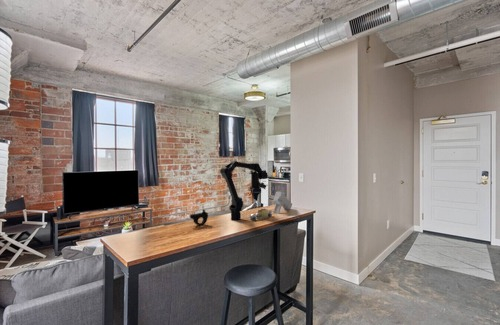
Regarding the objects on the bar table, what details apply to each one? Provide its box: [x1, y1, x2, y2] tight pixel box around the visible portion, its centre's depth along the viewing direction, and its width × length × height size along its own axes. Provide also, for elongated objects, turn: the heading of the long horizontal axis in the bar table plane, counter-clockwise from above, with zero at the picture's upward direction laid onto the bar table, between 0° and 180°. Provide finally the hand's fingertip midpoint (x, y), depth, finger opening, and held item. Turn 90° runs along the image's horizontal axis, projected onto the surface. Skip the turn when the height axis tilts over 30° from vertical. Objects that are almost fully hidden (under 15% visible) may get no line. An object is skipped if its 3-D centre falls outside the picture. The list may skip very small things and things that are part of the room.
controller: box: [189, 209, 209, 226], centre depth 164 cm, size 4×12×10 cm, turn 122°
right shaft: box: [268, 209, 273, 218], centre depth 186 cm, size 6×4×5 cm, turn 145°
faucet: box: [272, 191, 293, 214], centre depth 203 cm, size 6×16×20 cm
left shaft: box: [249, 212, 259, 222], centre depth 176 cm, size 6×4×5 cm, turn 121°
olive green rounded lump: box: [257, 208, 269, 220], centre depth 180 cm, size 6×4×6 cm, turn 133°
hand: (255, 200), depth 189 cm, fingers open, 9 cm apart
